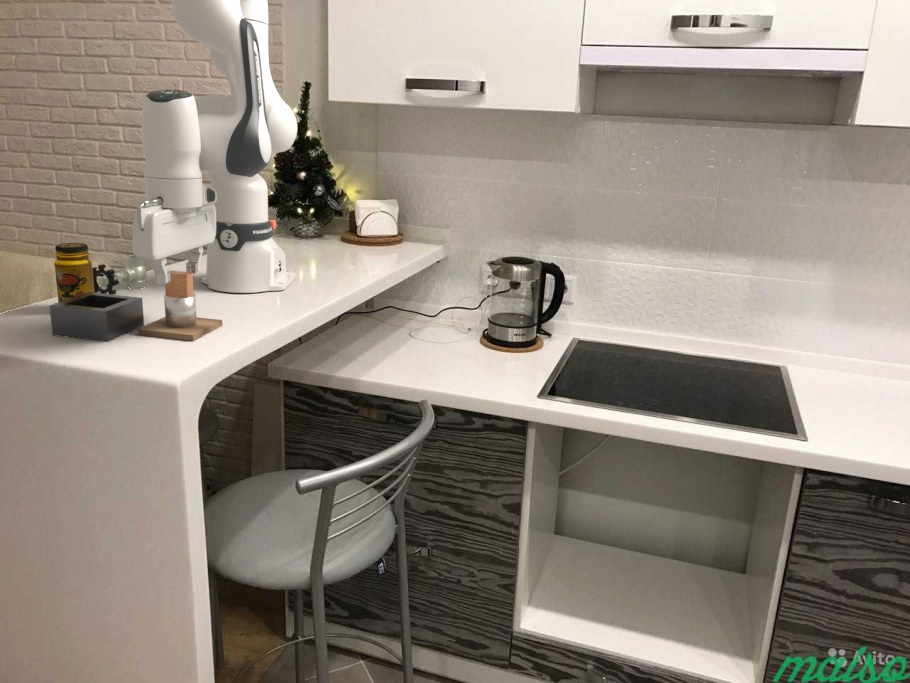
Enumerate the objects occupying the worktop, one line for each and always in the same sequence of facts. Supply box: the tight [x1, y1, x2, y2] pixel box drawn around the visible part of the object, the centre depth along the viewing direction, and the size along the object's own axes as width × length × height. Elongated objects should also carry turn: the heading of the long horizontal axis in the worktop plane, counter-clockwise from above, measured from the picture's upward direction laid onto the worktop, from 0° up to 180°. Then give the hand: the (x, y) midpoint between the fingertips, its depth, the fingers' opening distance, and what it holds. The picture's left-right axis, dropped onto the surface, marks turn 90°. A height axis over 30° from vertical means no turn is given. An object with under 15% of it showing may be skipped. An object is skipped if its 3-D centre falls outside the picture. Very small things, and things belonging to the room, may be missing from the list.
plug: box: [163, 270, 197, 328], centre depth 128 cm, size 5×5×9 cm
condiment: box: [54, 242, 95, 303], centre depth 137 cm, size 7×8×12 cm
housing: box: [49, 292, 145, 343], centre depth 126 cm, size 10×10×5 cm
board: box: [137, 316, 223, 342], centre depth 129 cm, size 10×10×1 cm
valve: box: [92, 254, 148, 295], centre depth 151 cm, size 7×7×12 cm
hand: (178, 278), depth 127 cm, fingers open, 8 cm apart
